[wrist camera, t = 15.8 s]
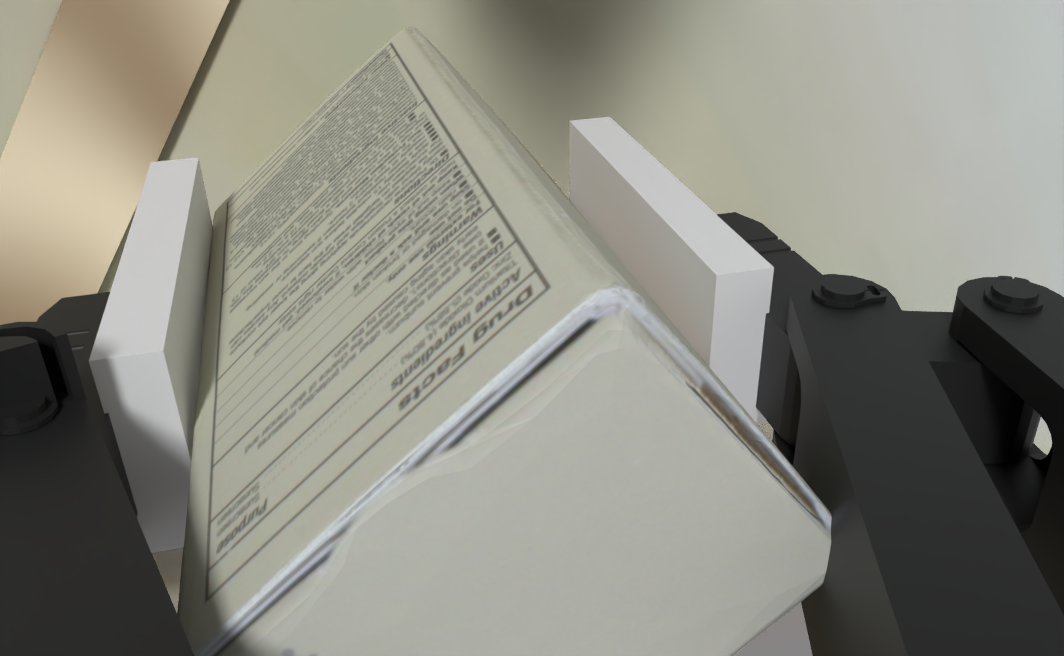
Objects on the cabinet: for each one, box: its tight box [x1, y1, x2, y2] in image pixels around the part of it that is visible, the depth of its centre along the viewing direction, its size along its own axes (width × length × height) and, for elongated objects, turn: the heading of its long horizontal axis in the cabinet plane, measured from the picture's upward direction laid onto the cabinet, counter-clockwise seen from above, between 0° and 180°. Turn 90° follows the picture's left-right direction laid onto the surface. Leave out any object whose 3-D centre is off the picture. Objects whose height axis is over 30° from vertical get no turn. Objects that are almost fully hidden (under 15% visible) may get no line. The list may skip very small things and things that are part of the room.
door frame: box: [0, 0, 230, 325], centre depth 15 cm, size 27×3×10 cm, turn 149°
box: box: [177, 27, 832, 656], centre depth 13 cm, size 5×4×11 cm
